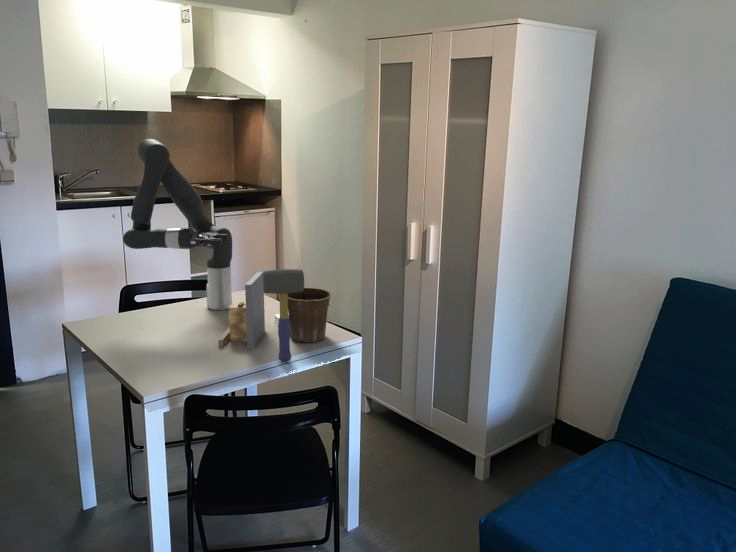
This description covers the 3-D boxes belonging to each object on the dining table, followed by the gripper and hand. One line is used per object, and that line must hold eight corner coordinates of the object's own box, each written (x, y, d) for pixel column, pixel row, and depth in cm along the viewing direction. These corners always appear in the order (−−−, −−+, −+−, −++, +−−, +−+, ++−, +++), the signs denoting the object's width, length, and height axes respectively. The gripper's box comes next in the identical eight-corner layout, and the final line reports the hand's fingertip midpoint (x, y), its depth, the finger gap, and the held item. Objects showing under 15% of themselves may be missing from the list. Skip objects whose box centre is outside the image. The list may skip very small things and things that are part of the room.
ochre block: (230, 340, 208) (228, 305, 205) (234, 335, 213) (232, 301, 210) (250, 341, 208) (248, 305, 205) (253, 336, 213) (252, 301, 210)
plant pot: (340, 338, 212) (340, 294, 208) (302, 349, 201) (302, 302, 197) (313, 327, 223) (312, 285, 220) (276, 336, 213) (275, 292, 209)
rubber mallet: (266, 367, 185) (263, 273, 178) (264, 358, 192) (261, 267, 185) (306, 364, 188) (305, 271, 181) (302, 355, 195) (301, 265, 188)
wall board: (218, 347, 202) (215, 283, 197) (232, 329, 219) (230, 271, 214) (253, 348, 201) (251, 284, 196) (264, 330, 219) (263, 271, 213)
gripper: (172, 231, 211) (218, 232, 211) (186, 225, 225) (229, 226, 225) (174, 252, 213) (219, 253, 212) (188, 245, 227) (230, 246, 226)
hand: (224, 239), depth 219 cm, fingers open, 8 cm apart
